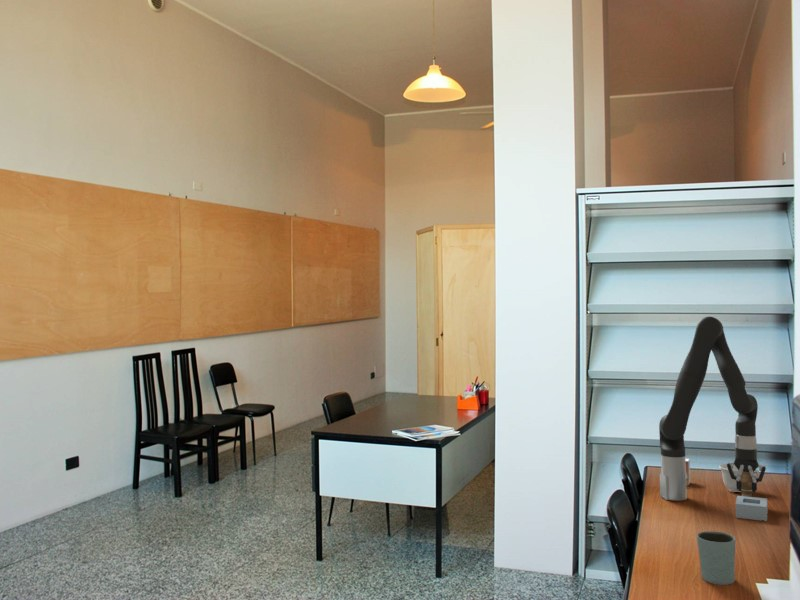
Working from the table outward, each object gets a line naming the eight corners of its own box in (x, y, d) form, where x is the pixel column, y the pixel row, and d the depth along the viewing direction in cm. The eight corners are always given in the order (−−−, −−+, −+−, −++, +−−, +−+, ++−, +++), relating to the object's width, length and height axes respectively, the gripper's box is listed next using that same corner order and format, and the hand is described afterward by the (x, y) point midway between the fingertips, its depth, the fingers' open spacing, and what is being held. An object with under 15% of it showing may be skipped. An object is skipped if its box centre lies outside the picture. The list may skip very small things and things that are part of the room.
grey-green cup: (724, 588, 190) (723, 544, 190) (690, 577, 198) (689, 535, 199) (743, 579, 196) (742, 536, 196) (710, 569, 204) (708, 528, 205)
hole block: (766, 521, 247) (766, 506, 247) (735, 517, 252) (735, 503, 252) (767, 511, 258) (767, 498, 258) (737, 508, 262) (737, 495, 262)
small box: (669, 483, 301) (668, 459, 301) (670, 480, 306) (670, 457, 306) (689, 485, 297) (688, 461, 297) (690, 482, 302) (689, 458, 302)
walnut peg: (744, 504, 264) (743, 472, 265) (738, 500, 269) (738, 469, 269) (755, 503, 265) (754, 472, 265) (749, 500, 269) (749, 469, 269)
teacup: (758, 497, 277) (758, 472, 277) (718, 492, 285) (717, 468, 285) (761, 490, 287) (760, 465, 287) (721, 486, 295) (721, 462, 295)
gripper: (766, 446, 267) (767, 491, 267) (726, 443, 274) (726, 486, 273) (766, 450, 260) (767, 495, 260) (724, 446, 267) (725, 491, 267)
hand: (746, 491), depth 267 cm, fingers closed on walnut peg, 4 cm apart
